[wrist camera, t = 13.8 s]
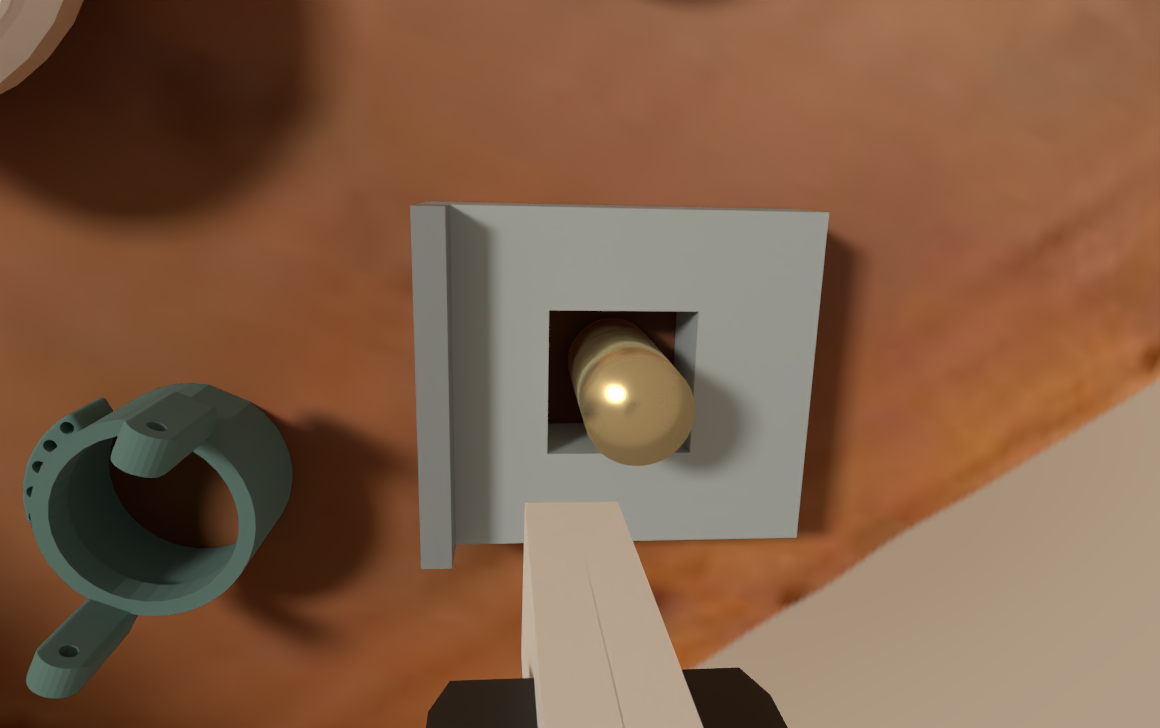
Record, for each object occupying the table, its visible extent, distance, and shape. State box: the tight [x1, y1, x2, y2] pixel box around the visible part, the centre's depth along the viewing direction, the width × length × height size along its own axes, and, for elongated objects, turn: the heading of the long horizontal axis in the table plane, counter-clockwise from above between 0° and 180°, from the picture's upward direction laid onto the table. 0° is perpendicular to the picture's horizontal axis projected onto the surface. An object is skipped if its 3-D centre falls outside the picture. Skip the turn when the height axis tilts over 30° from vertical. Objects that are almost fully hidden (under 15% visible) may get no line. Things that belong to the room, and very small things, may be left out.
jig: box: [410, 201, 829, 569], centre depth 31 cm, size 16×14×6 cm
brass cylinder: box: [568, 318, 695, 466], centre depth 30 cm, size 4×4×8 cm
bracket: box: [23, 383, 293, 698], centre depth 29 cm, size 9×9×9 cm
